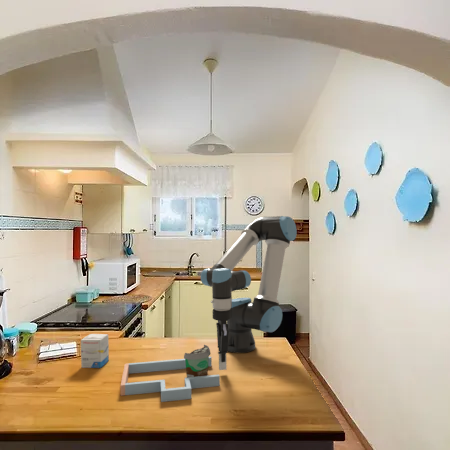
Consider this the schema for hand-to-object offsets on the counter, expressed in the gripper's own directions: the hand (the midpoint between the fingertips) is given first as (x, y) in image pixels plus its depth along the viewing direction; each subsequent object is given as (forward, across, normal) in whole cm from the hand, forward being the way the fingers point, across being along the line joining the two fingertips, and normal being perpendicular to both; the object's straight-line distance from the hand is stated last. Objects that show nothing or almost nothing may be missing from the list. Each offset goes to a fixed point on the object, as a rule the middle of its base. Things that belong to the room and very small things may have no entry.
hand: (222, 369), depth 141 cm
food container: (+2, 0, -9) cm, 9 cm away
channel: (+2, +4, -20) cm, 21 cm away
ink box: (+2, -22, -50) cm, 55 cm away
